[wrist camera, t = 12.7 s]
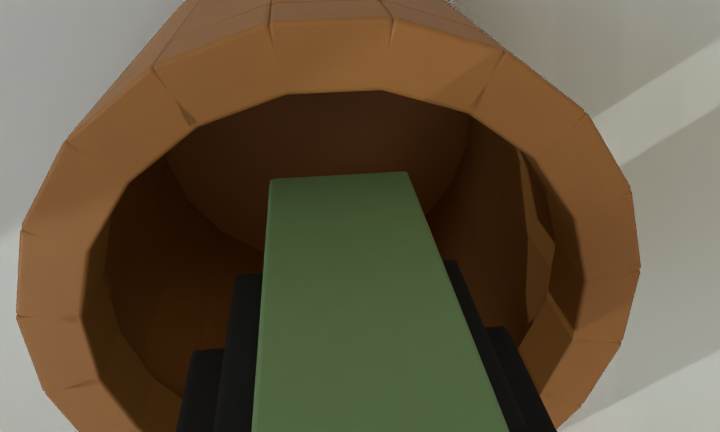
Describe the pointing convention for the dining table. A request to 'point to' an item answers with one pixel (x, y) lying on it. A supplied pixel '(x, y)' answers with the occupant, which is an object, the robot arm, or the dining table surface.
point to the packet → (362, 316)
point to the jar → (308, 159)
